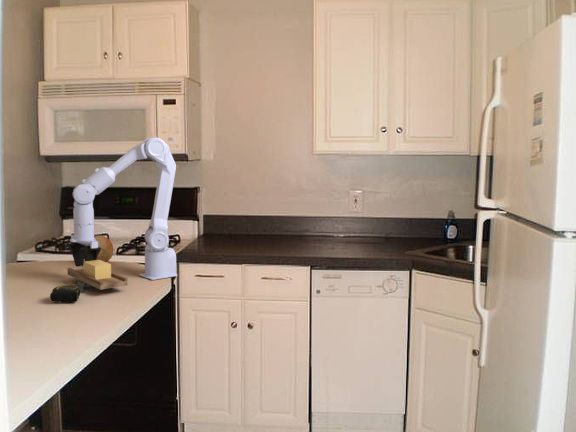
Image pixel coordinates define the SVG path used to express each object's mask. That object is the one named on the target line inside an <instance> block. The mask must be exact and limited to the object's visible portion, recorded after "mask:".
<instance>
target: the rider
mask: <svg viewBox="0 0 576 432" xmlns="http://www.w3.org/2000/svg"><path fill="white" fill-rule="evenodd" d="M83 269H84V274H86V275H88V276H90V277H92V278H95V279H97V280H98V279H105V278H111V272H112V264H111V263H109V262H108V261H107V262H104V261H101V260H93V261H84V264H83Z"/></svg>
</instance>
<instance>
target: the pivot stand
mask: <svg viewBox="0 0 576 432" xmlns="http://www.w3.org/2000/svg"><path fill="white" fill-rule="evenodd" d="M72 285H75V286H77V287H78V288H79V289H80V293H88V292H94V291H100V289H98V288H96V287H94V286H87V283H85V282H83V281H79V280H76V283H75V284H74V283H73V284H72Z"/></svg>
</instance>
